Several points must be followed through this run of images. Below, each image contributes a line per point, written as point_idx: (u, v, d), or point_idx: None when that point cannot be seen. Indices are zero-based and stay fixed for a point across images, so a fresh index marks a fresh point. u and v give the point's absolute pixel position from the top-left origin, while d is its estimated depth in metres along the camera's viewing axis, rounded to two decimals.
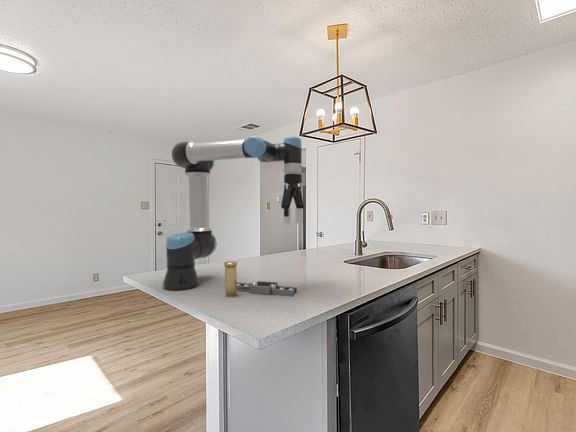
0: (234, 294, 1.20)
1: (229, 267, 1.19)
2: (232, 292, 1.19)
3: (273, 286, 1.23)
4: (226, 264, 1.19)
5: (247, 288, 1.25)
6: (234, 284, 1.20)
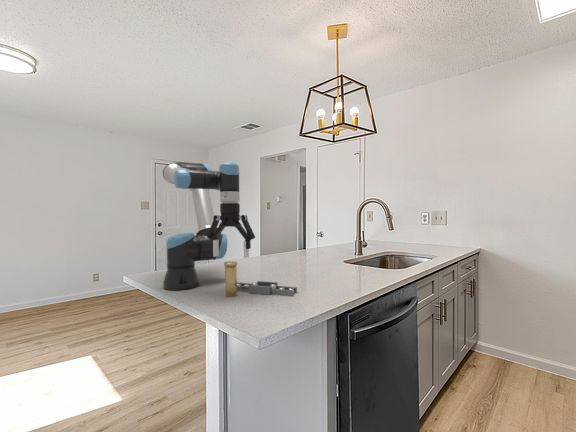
0: (234, 294, 1.20)
1: (229, 267, 1.19)
2: (232, 292, 1.19)
3: (273, 286, 1.23)
4: (226, 264, 1.19)
5: (247, 288, 1.25)
6: (234, 284, 1.20)
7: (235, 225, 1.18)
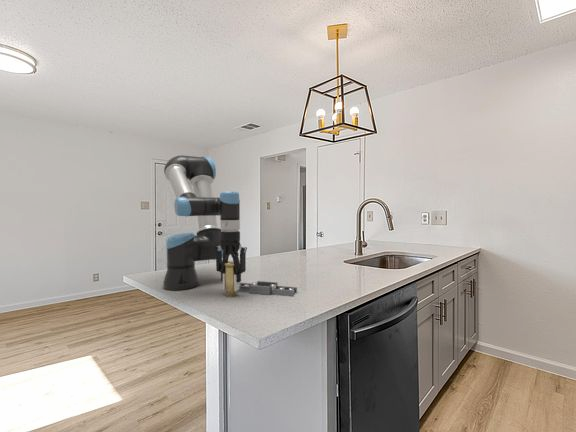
0: (234, 294, 1.20)
1: (229, 267, 1.19)
2: (232, 292, 1.19)
3: (273, 286, 1.23)
4: (226, 264, 1.19)
5: (247, 288, 1.25)
6: None
7: (232, 255, 1.18)
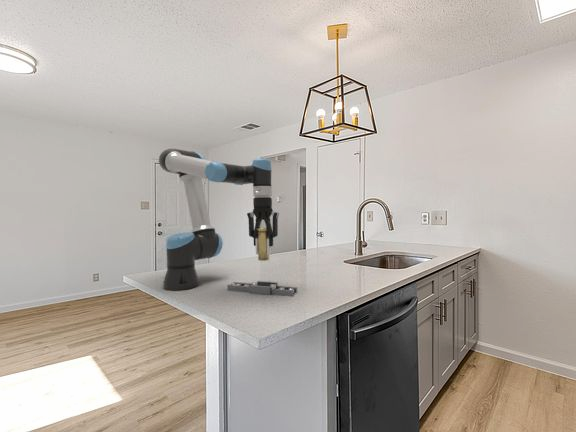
0: (267, 258, 1.24)
1: (262, 232, 1.23)
2: (265, 256, 1.23)
3: (273, 286, 1.23)
4: (259, 229, 1.23)
5: (247, 288, 1.25)
6: None
7: (265, 220, 1.23)
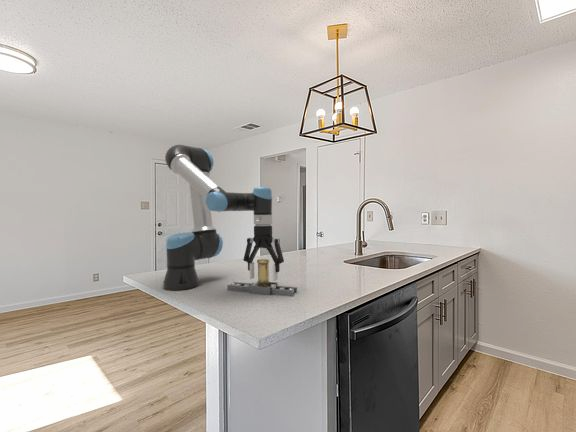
0: None
1: (262, 264, 1.24)
2: None
3: (273, 286, 1.23)
4: (259, 261, 1.24)
5: (247, 288, 1.25)
6: (267, 281, 1.24)
7: (267, 248, 1.23)
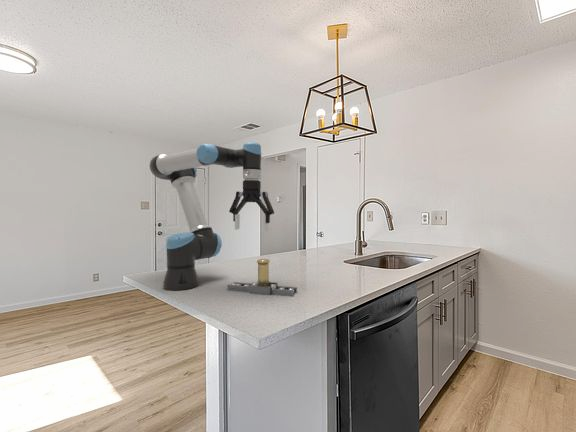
0: None
1: (262, 264, 1.24)
2: None
3: (273, 286, 1.23)
4: (259, 261, 1.24)
5: (247, 288, 1.25)
6: (267, 281, 1.24)
7: (256, 201, 1.27)
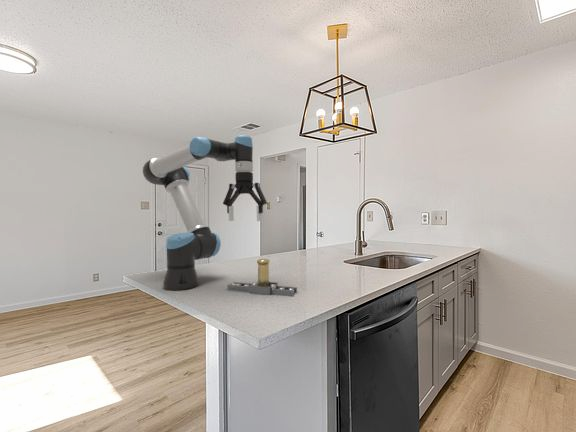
0: None
1: (262, 264, 1.24)
2: None
3: (273, 286, 1.23)
4: (259, 261, 1.24)
5: (247, 288, 1.25)
6: (267, 281, 1.24)
7: (249, 192, 1.31)
